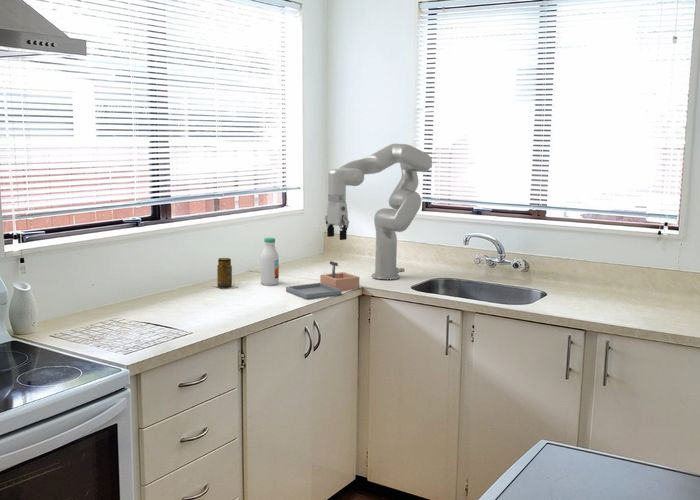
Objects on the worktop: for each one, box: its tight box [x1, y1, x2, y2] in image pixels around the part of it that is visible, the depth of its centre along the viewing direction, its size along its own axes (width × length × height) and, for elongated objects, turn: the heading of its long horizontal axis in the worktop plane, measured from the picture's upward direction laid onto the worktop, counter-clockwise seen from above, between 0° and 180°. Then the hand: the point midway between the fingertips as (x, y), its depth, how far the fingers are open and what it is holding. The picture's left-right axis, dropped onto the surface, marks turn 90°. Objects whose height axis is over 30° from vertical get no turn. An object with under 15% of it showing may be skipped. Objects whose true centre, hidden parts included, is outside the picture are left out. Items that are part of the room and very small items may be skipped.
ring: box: [319, 271, 360, 292], centre depth 325 cm, size 12×12×5 cm
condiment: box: [212, 257, 237, 290], centre depth 322 cm, size 7×8×12 cm
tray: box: [285, 282, 342, 300], centre depth 313 cm, size 17×17×2 cm
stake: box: [329, 260, 339, 278], centre depth 323 cm, size 1×5×11 cm, turn 34°
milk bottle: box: [260, 237, 280, 286], centre depth 329 cm, size 8×8×20 cm
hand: (336, 238), depth 327 cm, fingers open, 9 cm apart
